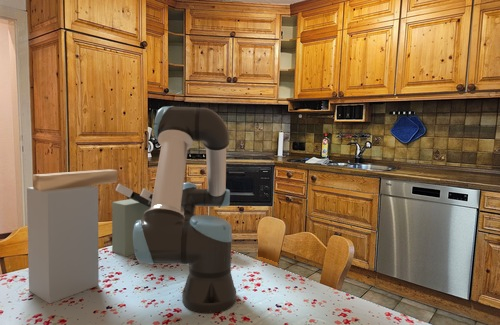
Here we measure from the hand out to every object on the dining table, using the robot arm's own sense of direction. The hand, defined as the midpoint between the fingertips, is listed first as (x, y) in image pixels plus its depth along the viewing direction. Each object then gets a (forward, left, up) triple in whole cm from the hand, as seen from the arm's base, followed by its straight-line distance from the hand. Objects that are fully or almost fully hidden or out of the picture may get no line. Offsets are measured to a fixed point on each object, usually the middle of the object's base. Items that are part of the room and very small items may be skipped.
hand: (129, 189), depth 113 cm
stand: (0, +22, -27) cm, 35 cm away
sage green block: (+12, -11, -27) cm, 32 cm away
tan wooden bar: (0, +17, +3) cm, 18 cm away
